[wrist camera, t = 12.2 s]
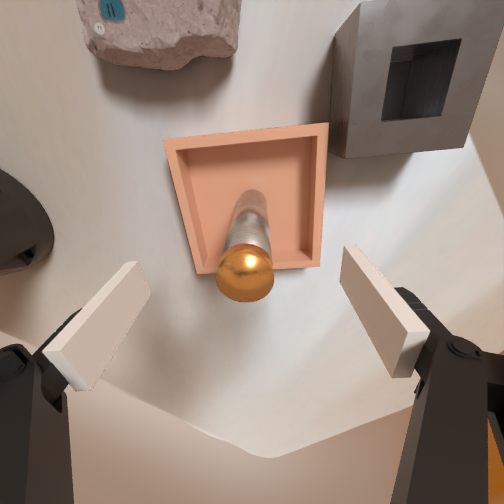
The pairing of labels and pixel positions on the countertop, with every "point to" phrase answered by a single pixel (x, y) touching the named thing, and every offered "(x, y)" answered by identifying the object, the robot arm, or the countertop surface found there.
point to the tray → (253, 177)
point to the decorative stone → (159, 30)
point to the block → (411, 74)
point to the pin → (247, 251)
